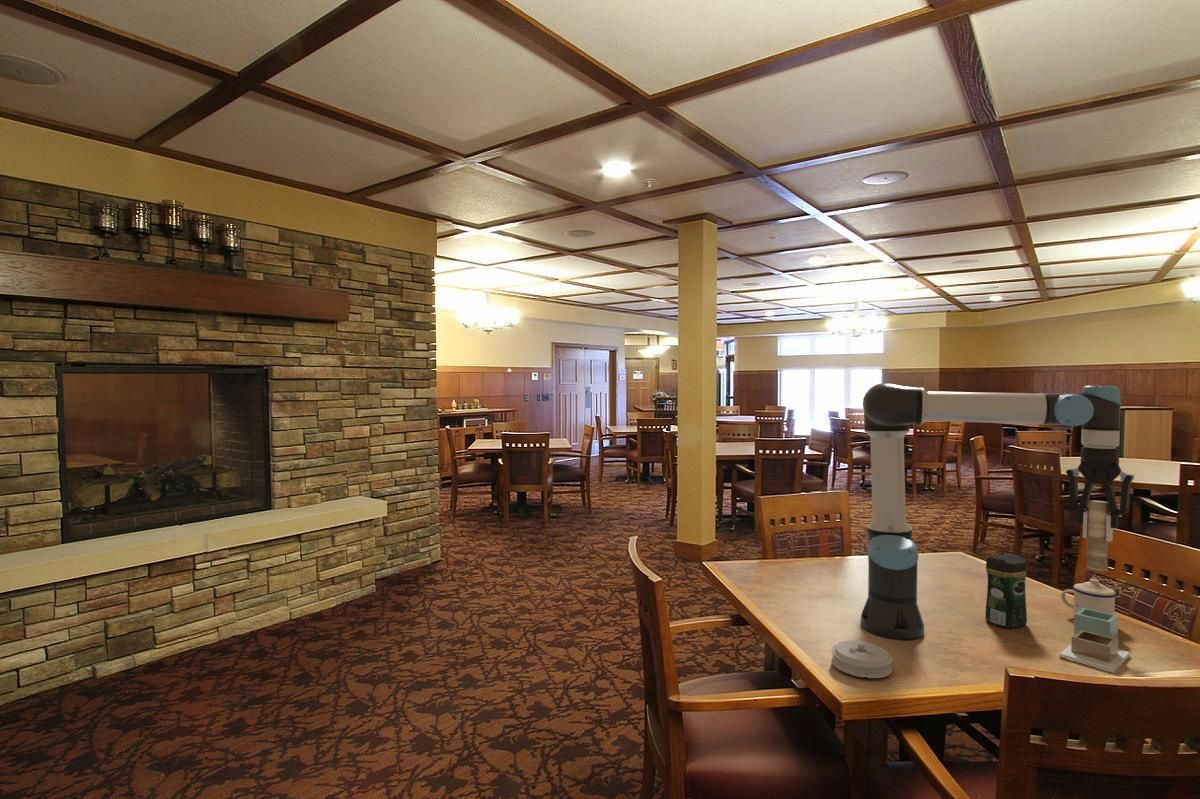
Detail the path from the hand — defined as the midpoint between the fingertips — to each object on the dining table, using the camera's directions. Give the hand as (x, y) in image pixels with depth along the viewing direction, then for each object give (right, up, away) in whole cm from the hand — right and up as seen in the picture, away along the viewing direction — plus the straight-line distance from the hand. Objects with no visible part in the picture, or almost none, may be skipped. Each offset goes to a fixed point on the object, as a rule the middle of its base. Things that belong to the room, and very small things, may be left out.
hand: (1097, 538), depth 157 cm
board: (-9, -26, -10) cm, 29 cm away
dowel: (0, -8, 0) cm, 8 cm away
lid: (-67, -26, -16) cm, 74 cm away
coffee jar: (-17, -25, +10) cm, 32 cm away
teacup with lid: (+7, -25, +13) cm, 29 cm away
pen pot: (0, -25, +1) cm, 25 cm away
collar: (-9, -26, -10) cm, 29 cm away
